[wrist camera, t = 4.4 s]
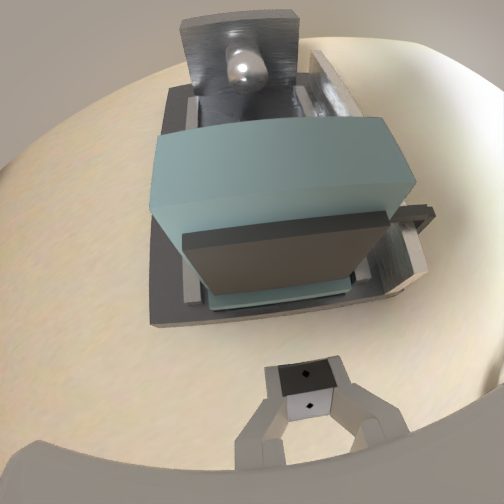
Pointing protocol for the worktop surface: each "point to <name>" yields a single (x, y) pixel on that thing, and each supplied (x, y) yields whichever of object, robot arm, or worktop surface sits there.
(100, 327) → the worktop surface
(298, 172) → the gauge slider
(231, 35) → the frame
